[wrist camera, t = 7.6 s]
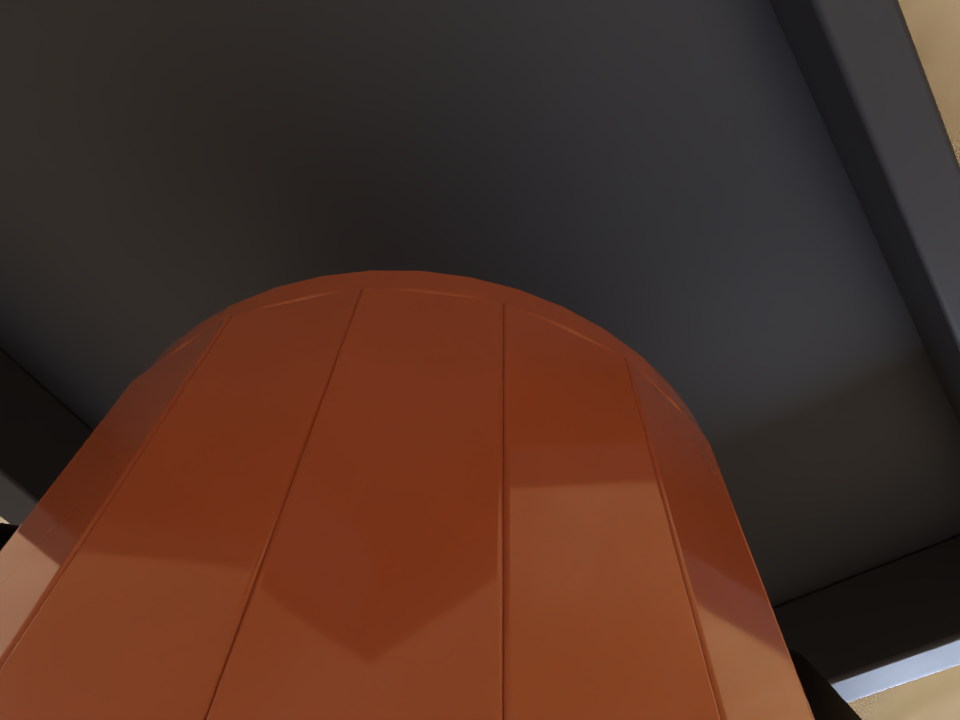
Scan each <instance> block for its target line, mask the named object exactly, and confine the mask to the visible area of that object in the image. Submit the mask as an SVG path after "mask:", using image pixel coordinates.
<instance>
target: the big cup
mask: <svg viewBox="0 0 960 720" xmlns="http://www.w3.org/2000/svg"><path fill="white" fill-rule="evenodd" d="M0 720H815V718H814V715H813V713H812V710H811V708H810V705H809V702H808V700H807V697H806V694H805V692H804V689H803V687H802V684H801V681H800V679H799V676H798V673H797V671H796V668H795V666H794V663H793V660H792V658H791V655H790V652H789V650H788V647H787V645H786V642H785V639H784V637H783V634H782V631H781V629H780V626H779V624H778V621H777V618H776V616H775V613H774V610H773V608H772V605H771V603H770V600H769V597H768V595H767V592H766V589H765V587H764V584H763V582H762V579H761V576H760V574H759V571H758V568H757V566H756V563H755V561H754V558H753V555H752V553H751V550H750V547H749V545H748V542H747V540H746V537H745V534H744V532H743V529H742V526H741V524H740V521H739V519H738V516H737V513H736V511H735V508H734V505H733V503H732V500H731V498H730V495H729V492H728V490H727V487H726V484H725V482H724V479H723V477H722V474H721V471H720V469H719V466H718V463H717V461H716V458H715V456H714V453H713V450H712V448H711V445H710V443H709V442H708V441H707V439H706V437H705V436H704V434H703V432H702V430H701V428H700V426H699V425H698V423H697V421H696V419H695V417H694V415H693V414H692V412H691V411H690V410H689V409H688V407H687V406H686V405H685V403H684V402H683V401H682V399H681V398H680V397H679V395H678V394H677V393H676V391H675V390H674V389H673V388H672V386H671V385H670V384H669V383H668V382H667V381H666V380H665V379H664V378H663V377H662V376H661V375H660V374H659V373H658V372H657V371H656V370H655V369H654V368H653V367H652V366H651V365H650V364H649V363H648V362H647V361H646V360H645V359H644V358H643V357H641V356H640V355H639V354H638V353H637V352H635V351H634V350H632V349H631V348H630V347H628V346H627V345H626V344H624V343H623V342H621V341H620V340H619V339H617V338H616V337H615V336H613V335H612V334H610V333H609V332H608V331H606V330H605V329H603V328H602V327H600V326H598V325H596V324H594V323H592V322H590V321H589V320H587V319H585V318H583V317H581V316H579V315H577V314H576V313H574V312H572V311H570V310H568V309H566V308H565V307H563V306H560V305H557V304H555V303H552V302H550V301H547V300H545V299H542V298H539V297H537V296H534V295H532V294H529V293H526V292H524V291H521V290H519V289H515V288H511V287H507V286H504V285H500V284H496V283H492V282H488V281H484V280H480V279H476V278H472V277H466V276H458V275H450V274H442V273H435V272H427V271H388V270H370V271H362V272H353V273H344V274H336V275H327V276H320V277H316V278H312V279H308V280H304V281H300V282H296V283H292V284H288V285H284V286H280V287H276V288H273V289H271V290H268V291H266V292H263V293H261V294H258V295H255V296H253V297H250V298H248V299H245V300H243V301H240V302H238V303H235V304H233V305H231V306H229V307H228V308H226V309H224V310H222V311H221V312H219V313H217V314H215V315H214V316H212V317H210V318H208V319H207V320H205V321H203V322H201V323H200V324H198V325H196V326H195V327H194V328H192V329H191V330H190V331H189V332H187V333H186V334H185V335H184V336H182V337H181V338H180V339H178V340H177V341H176V342H175V343H173V344H172V345H171V346H170V347H168V348H167V349H166V350H165V351H164V352H163V353H162V354H161V355H160V356H159V357H158V358H157V359H156V361H155V362H154V363H153V364H152V365H151V366H150V367H149V368H148V369H147V370H146V372H144V373H143V374H141V375H140V376H138V377H137V378H135V379H134V381H133V382H132V383H131V384H130V385H129V386H128V387H127V388H126V390H125V391H124V392H123V394H122V395H121V396H120V397H119V399H118V400H117V401H116V403H115V404H114V405H113V406H112V408H111V409H110V410H109V412H108V413H107V414H106V416H105V417H104V418H103V419H102V421H101V422H100V423H99V425H98V426H97V427H96V428H95V430H94V431H93V432H92V434H91V435H90V436H89V437H88V439H87V440H86V441H85V443H84V444H83V445H82V447H81V448H80V449H79V450H78V452H77V453H76V454H75V456H74V457H73V458H72V459H71V461H70V462H69V463H68V465H67V466H66V467H65V468H64V470H63V471H62V472H61V474H60V475H59V476H58V477H57V479H56V480H55V481H54V483H53V484H52V485H51V487H50V488H49V489H48V490H47V492H46V493H45V494H44V496H43V497H42V498H41V499H40V501H39V502H38V503H37V505H36V506H35V507H34V508H33V510H32V511H31V512H30V514H29V515H28V516H27V518H26V519H25V520H24V521H23V523H22V524H21V525H20V527H19V528H18V529H17V530H16V532H15V533H14V534H13V536H12V537H11V538H10V539H9V541H8V542H7V543H6V545H5V546H4V547H3V549H2V550H1V551H0Z"/></svg>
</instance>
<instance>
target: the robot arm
mask: <svg viewBox="0 0 960 720" xmlns="http://www.w3.org/2000/svg"><path fill="white" fill-rule="evenodd" d="M19 527H20V526H17V525H11V524H4V523H0V551H1V550H2V549H3V547H4V546H5V545H6V543H7V542H8V541H9V539H10V538H11V537H12V536H13V534H14V533H15V532H16V530H17V529H18V528H19ZM788 650H789V652H790V655H791V658H792V660H793V663H794V666H795V668H796V671H797V673H798V676H799V679H800V681H801V684H802V687H803V689H804V692H805V694H806V697H807V700H808V702H809V705H810V708H811V710H812V713H813V715H814V718H815V720H862V719H861V718H860V717H859V716H858V715H857V714H856V713H855V711H854V710H853V709H852V708H851V707H850V706H849V705H848V704H847V703H846V701H845V700H844V699H843V698H842V697H841V696H840V695H839V694H838V692H837V691H836V690H835V689H834V688H833V687H832V686H831V685H830V683H829V682H828V681H827V680H826V679H825V678H824V677H823V676H822V675H821V673H820V672H819V671H818V670H817V669H816V668H815V667H814V666H813V664H812V663H811V662H810V661H809V660H808V659H807V658H806V657H805V656H804V655H803V654H802V653H801V652H799V651H798V650H796V649H793V648H788Z"/></svg>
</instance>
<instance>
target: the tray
mask: <svg viewBox="0 0 960 720" xmlns="http://www.w3.org/2000/svg"><path fill="white" fill-rule="evenodd" d="M370 270H388V271H427V272H435V273H442V274H450V275H458V276H466V277H472V278H476V279H480V280H484V281H488V282H492V283H496V284H500V285H504V286H507V287H511V288H515V289H519V290H521V291H524V292H526V293H529V294H532V295H534V296H537V297H539V298H542V299H545V300H547V301H550V302H552V303H555V304H557V305H560V306H563V307H565V308H566V309H568V310H570V311H572V312H574V313H576V314H577V315H579V316H581V317H583V318H585V319H587V320H589V321H590V322H592V323H594V324H596V325H598V326H600V327H602V328H603V329H605V330H606V331H608V332H609V333H610V334H612V335H613V336H615V337H616V338H617V339H619V340H620V341H621V342H623V343H624V344H626V345H627V346H628V347H630V348H631V349H632V350H634V351H635V352H637V353H638V354H639V355H640V356H641V357H643V358H644V359H645V360H646V361H647V362H648V363H649V364H650V365H651V366H652V367H653V368H654V369H655V370H656V371H657V372H658V373H659V374H660V375H661V376H662V377H663V378H664V379H665V380H666V381H667V382H668V383H669V384H670V385H671V386H672V388H673V389H674V390H675V391H676V393H677V394H678V395H679V397H680V398H681V399H682V401H683V402H684V403H685V405H686V406H687V407H688V409H689V410H690V411H691V412H692V414H693V415H694V417H695V419H696V421H697V423H698V425H699V426H700V428H701V430H702V432H703V434H704V436H705V437H706V439H707V441H708V442H709V443H710V445H711V448H712V450H713V453H714V456H715V458H716V461H717V463H718V466H719V469H720V471H721V474H722V477H723V479H724V482H725V484H726V487H727V490H728V492H729V495H730V498H731V500H732V503H733V505H734V508H735V511H736V513H737V516H738V519H739V521H740V524H741V526H742V529H743V532H744V534H745V537H746V540H747V542H748V545H749V547H750V550H751V553H752V555H753V558H754V561H755V563H756V566H757V568H758V571H759V574H760V576H761V579H762V582H763V584H764V587H765V589H766V592H767V595H768V597H769V600H770V603H771V605H772V608H773V610H774V613H775V616H776V618H777V621H778V624H779V626H780V629H781V631H782V634H783V637H784V639H785V642H786V645H787V647H788V648H793V649H796V650H798V651H799V652H801V653H802V654H803V655H804V656H805V657H806V658H807V659H808V660H809V661H810V662H811V663H812V664H813V666H814V667H815V668H816V669H817V670H818V671H819V672H820V673H821V675H822V676H823V677H824V678H825V679H826V680H827V681H828V682H829V683H830V685H831V686H832V687H833V688H834V689H835V690H836V691H837V692H838V694H839V695H840V696H841V697H842V698H843V699H844V700H845V701H846V703H849V702H852V701H854V700H857V699H860V698H863V697H866V696H869V695H872V694H875V693H878V692H881V691H884V690H887V689H890V688H893V687H896V686H898V685H901V684H904V683H907V682H910V681H913V680H916V679H919V678H922V677H925V676H928V675H931V674H934V673H937V672H940V671H942V670H945V669H948V668H951V667H954V666H957V665H960V166H959V163H958V160H957V158H956V155H955V152H954V150H953V147H952V144H951V142H950V139H949V136H948V134H947V131H946V128H945V126H944V123H943V120H942V118H941V115H940V112H939V110H938V107H937V104H936V101H935V99H934V96H933V93H932V91H931V88H930V85H929V83H928V80H927V77H926V75H925V72H924V69H923V67H922V64H921V61H920V59H919V56H918V53H917V50H916V48H915V45H914V42H913V40H912V37H911V34H910V32H909V29H908V26H907V24H906V21H905V18H904V16H903V13H902V10H901V8H900V5H899V2H898V0H0V516H1V517H2V518H3V519H5V520H6V521H7V522H9V523H10V524H11V525H17V526H20V525H21V524H22V523H23V521H24V520H25V519H26V518H27V516H28V515H29V514H30V512H31V511H32V510H33V508H34V507H35V506H36V505H37V503H38V502H39V501H40V499H41V498H42V497H43V496H44V494H45V493H46V492H47V490H48V489H49V488H50V487H51V485H52V484H53V483H54V481H55V480H56V479H57V477H58V476H59V475H60V474H61V472H62V471H63V470H64V468H65V467H66V466H67V465H68V463H69V462H70V461H71V459H72V458H73V457H74V456H75V454H76V453H77V452H78V450H79V449H80V448H81V447H82V445H83V444H84V443H85V441H86V440H87V439H88V437H89V436H90V435H91V434H92V432H93V431H94V430H95V428H96V427H97V426H98V425H99V423H100V422H101V421H102V419H103V418H104V417H105V416H106V414H107V413H108V412H109V410H110V409H111V408H112V406H113V405H114V404H115V403H116V401H117V400H118V399H119V397H120V396H121V395H122V394H123V392H124V391H125V390H126V388H127V387H128V386H129V385H130V384H131V383H132V382H133V381H134V379H135V378H137V377H138V376H140V375H141V374H143V373H144V372H146V370H147V369H148V368H149V367H150V366H151V365H152V364H153V363H154V362H155V361H156V359H157V358H158V357H159V356H160V355H161V354H162V353H163V352H164V351H165V350H166V349H167V348H168V347H170V346H171V345H172V344H173V343H175V342H176V341H177V340H178V339H180V338H181V337H182V336H184V335H185V334H186V333H187V332H189V331H190V330H191V329H192V328H194V327H195V326H196V325H198V324H200V323H201V322H203V321H205V320H207V319H208V318H210V317H212V316H214V315H215V314H217V313H219V312H221V311H222V310H224V309H226V308H228V307H229V306H231V305H233V304H235V303H238V302H240V301H243V300H245V299H248V298H250V297H253V296H255V295H258V294H261V293H263V292H266V291H268V290H271V289H273V288H276V287H280V286H284V285H288V284H292V283H296V282H300V281H304V280H308V279H312V278H316V277H320V276H327V275H336V274H344V273H353V272H362V271H370Z"/></svg>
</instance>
